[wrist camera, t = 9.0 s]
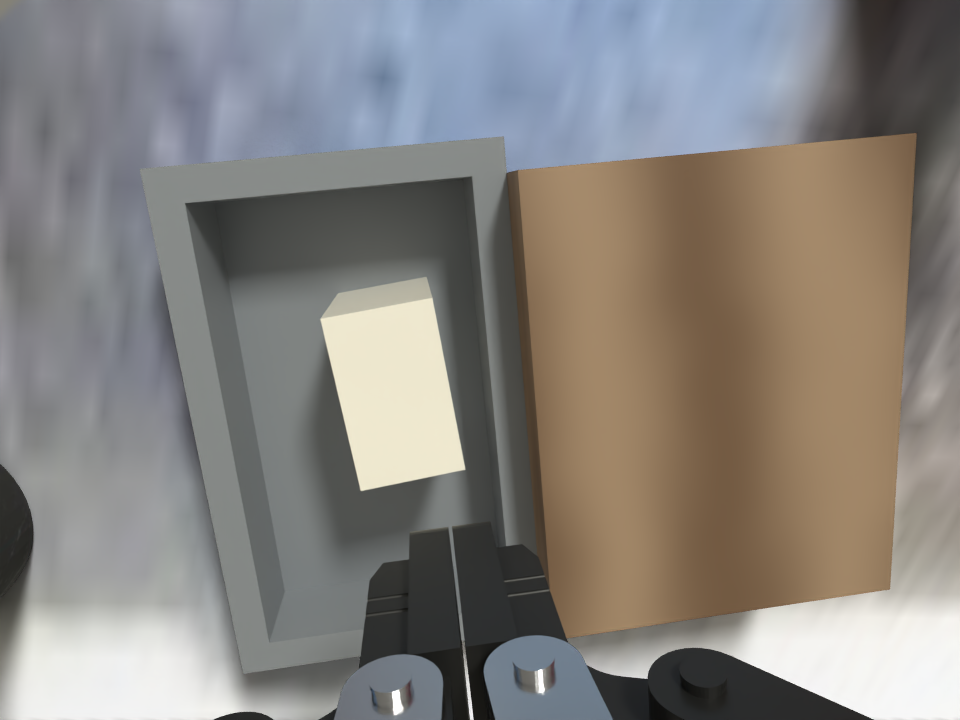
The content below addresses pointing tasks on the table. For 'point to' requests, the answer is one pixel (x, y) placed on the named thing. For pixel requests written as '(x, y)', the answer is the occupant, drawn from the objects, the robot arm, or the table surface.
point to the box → (309, 377)
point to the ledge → (713, 376)
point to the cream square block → (392, 383)
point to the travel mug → (13, 530)
